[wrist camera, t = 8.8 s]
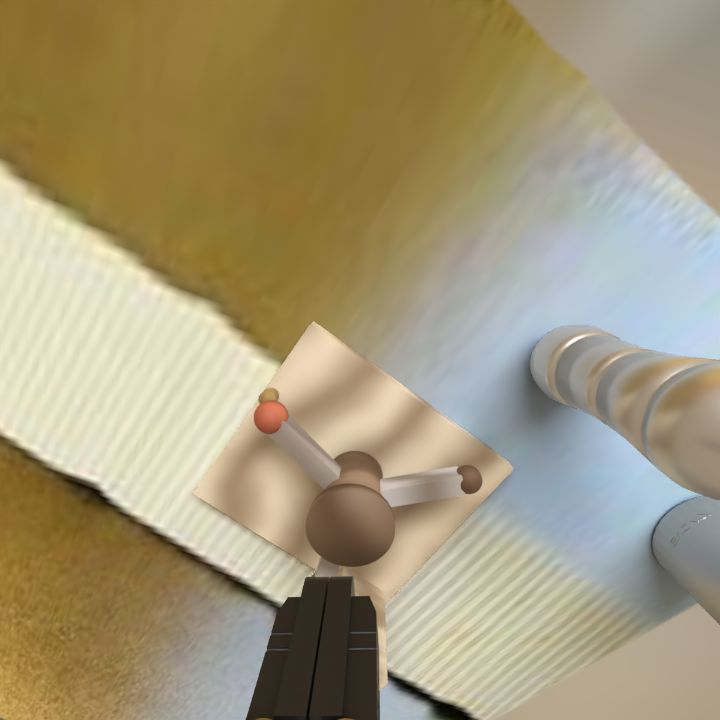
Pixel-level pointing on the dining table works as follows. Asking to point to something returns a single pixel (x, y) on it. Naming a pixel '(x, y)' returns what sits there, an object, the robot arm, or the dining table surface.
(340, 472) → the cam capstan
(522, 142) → the dining table surface
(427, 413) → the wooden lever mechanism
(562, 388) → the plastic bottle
